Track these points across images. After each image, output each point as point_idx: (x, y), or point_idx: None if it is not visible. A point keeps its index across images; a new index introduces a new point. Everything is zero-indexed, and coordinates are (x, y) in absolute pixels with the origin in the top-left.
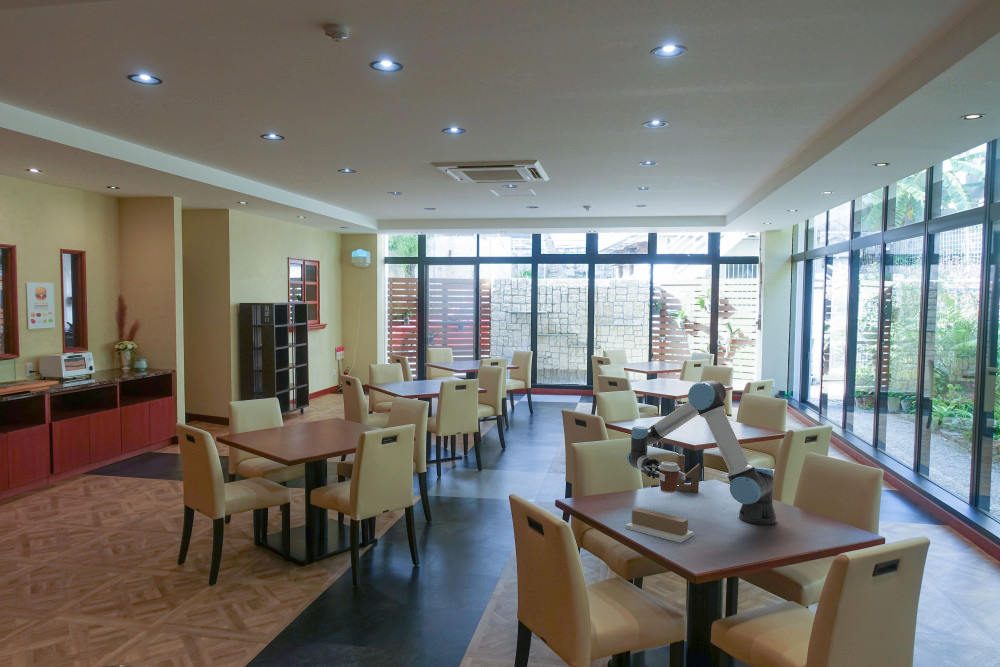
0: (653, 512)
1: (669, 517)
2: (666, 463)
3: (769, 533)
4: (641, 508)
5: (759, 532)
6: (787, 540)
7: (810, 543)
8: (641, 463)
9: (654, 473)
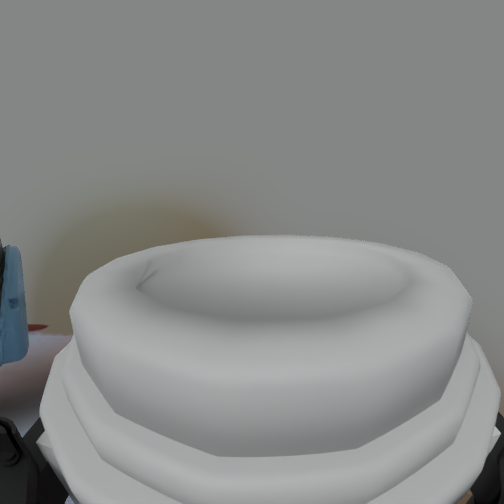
0: None
1: None
2: (320, 298)
3: (29, 392)
4: (471, 493)
5: (39, 403)
6: (49, 363)
7: (36, 347)
8: None
9: (501, 417)
